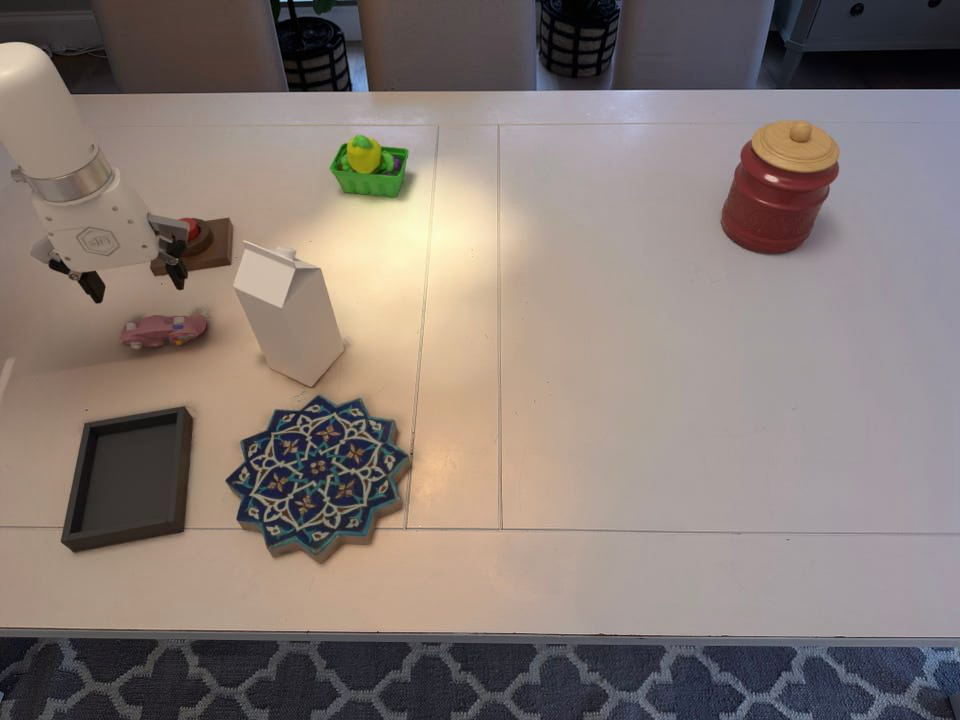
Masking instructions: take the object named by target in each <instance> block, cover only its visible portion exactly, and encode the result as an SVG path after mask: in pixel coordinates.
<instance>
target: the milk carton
mask: <svg viewBox="0 0 960 720" xmlns="http://www.w3.org/2000/svg"><path fill="white" fill-rule="evenodd" d="M242 243H243V246H244V248H245V249H244V252H243V254H242V258H241V260H240V264H239V267H238V270H237V272H236V275H235V279H234V281H233V285H232V287H233V289H234V292H235V294H236V296H237V298H238V300H239V302H240V305H241V307H242V310H243V312H244V314H245V317H246V318H247V321H248V323H249V326H250V328H251V330H252V333H253V334H254V337H255V338H256V341H257V343H258V345H259V348H260V351H261V353H262V354H263V357H264V359H265V361H266V364H267V365H268V367H269V368H270V369H271V370H273V371H276V372H278V373H280V374H282V375H284V376H286V377H288V378H290V379H292V380H294V381H297V382H298V383H301V384H303V385H304V386H307V387H309V388H313V386H314V385H316V383H317V382H318V381H319V380H320V379H321V377H322V376H323V375H324V374H325V373H326V372H327V370H328V369H329V368H331V366H332V365H333V364H334V363H335V361H336V360H337V359H338V358H339V357H340V355H341V354H342V353H343V352H344V351H345V347H344V342H343V339H342V336H341V332H340V330H339V329H340V328H339V325H338V323H337V318H336V315H335V312H334V308H333V305H332V301H331V298H330V294H329V291H328V287H327V285H326V280H325V278H324V274H323V271H322V268H321V267H320V266H317V265H315V264H312V263H310V262H307V261H304V260H302V259H300V258H297V257H296V255H297V249H295V248H293V247H291V246H289V245H288V246H287V245H283V244H282V245H281V244H279V245H276V247H275V248H267V247H262V246H260V245H257V244H255V243H252V242H250V241H248V240H245V239H244V240H242Z"/></svg>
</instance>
